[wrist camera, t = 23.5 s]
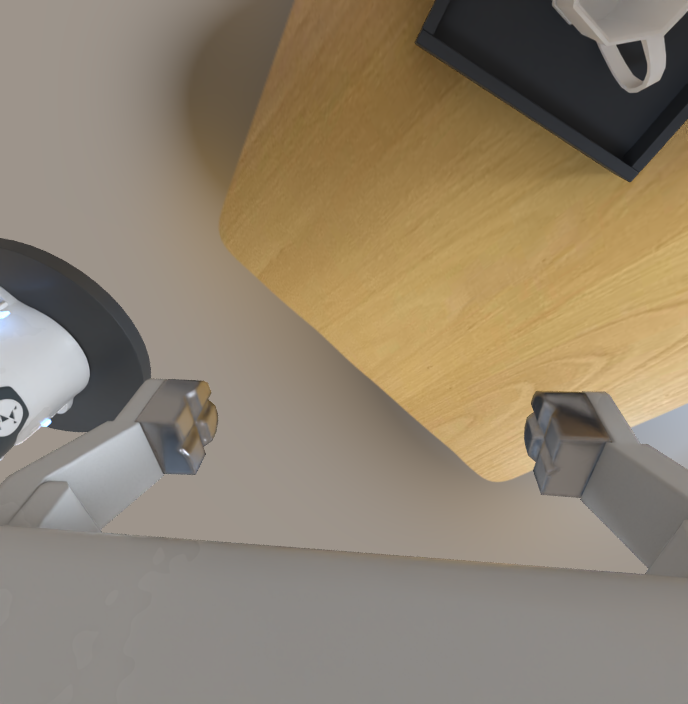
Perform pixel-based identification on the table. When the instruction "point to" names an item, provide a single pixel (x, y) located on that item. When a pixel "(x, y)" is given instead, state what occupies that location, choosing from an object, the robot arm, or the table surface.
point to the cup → (626, 31)
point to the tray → (563, 76)
